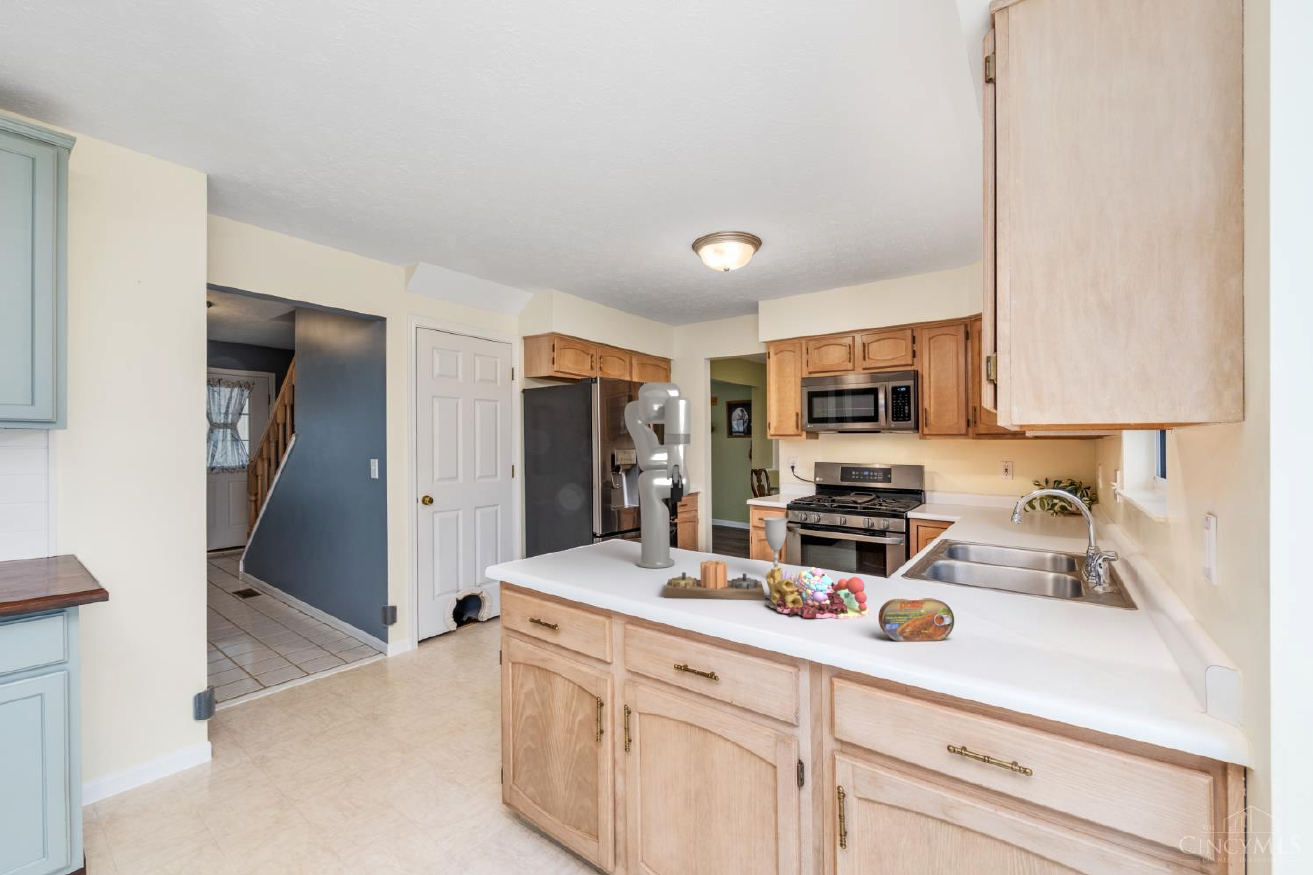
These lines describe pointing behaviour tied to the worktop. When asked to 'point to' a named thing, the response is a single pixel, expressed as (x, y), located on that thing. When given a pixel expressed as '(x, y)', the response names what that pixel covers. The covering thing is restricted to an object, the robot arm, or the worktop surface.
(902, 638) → the tin
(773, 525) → the chalice
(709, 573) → the gear
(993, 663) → the worktop surface
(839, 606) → the coral reef model
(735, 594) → the gear board
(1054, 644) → the worktop surface
